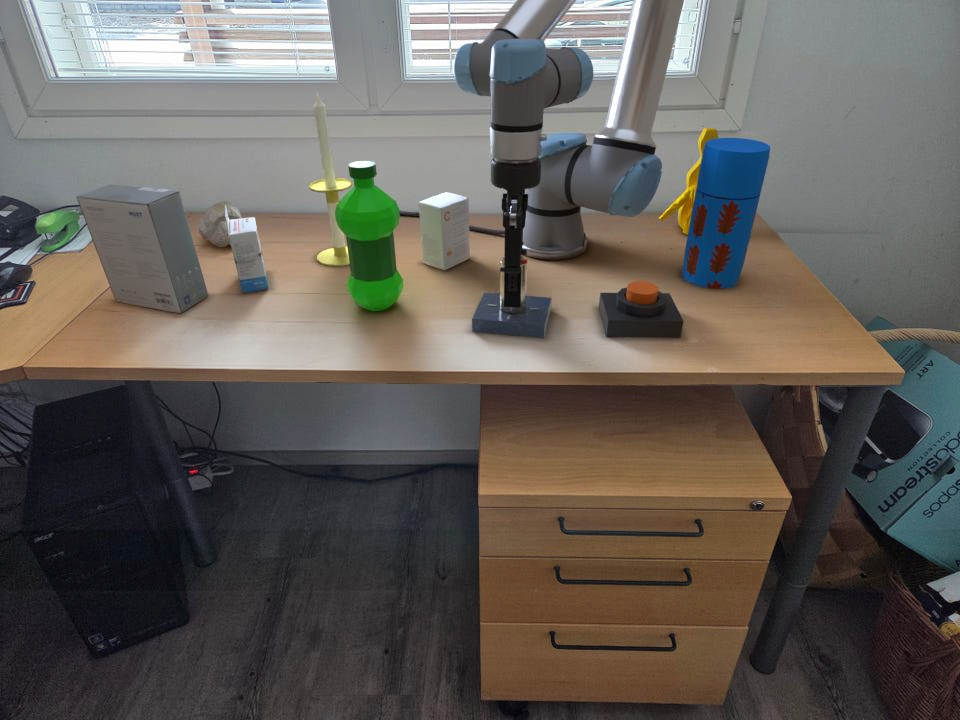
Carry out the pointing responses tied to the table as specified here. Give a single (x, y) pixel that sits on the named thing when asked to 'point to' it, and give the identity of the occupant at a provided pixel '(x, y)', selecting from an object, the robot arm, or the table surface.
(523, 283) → the dial knob
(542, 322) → the dial panel
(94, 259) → the table surface
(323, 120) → the candle
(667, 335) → the black button base
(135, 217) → the hard drive box
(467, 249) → the small box
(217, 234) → the fossil replica
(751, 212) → the thermos
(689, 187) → the figure statuette
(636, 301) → the button
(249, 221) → the ink box
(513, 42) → the robot arm
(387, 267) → the plastic bottle
